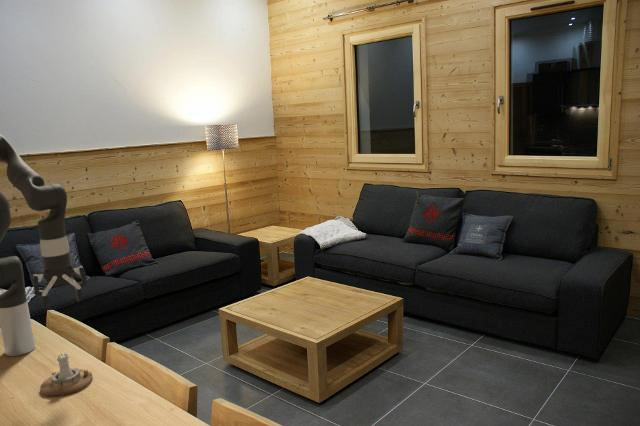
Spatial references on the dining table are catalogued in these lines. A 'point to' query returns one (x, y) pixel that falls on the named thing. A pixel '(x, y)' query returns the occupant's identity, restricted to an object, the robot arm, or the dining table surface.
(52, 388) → the carrier disc
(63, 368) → the rook chess piece
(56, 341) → the dining table surface
